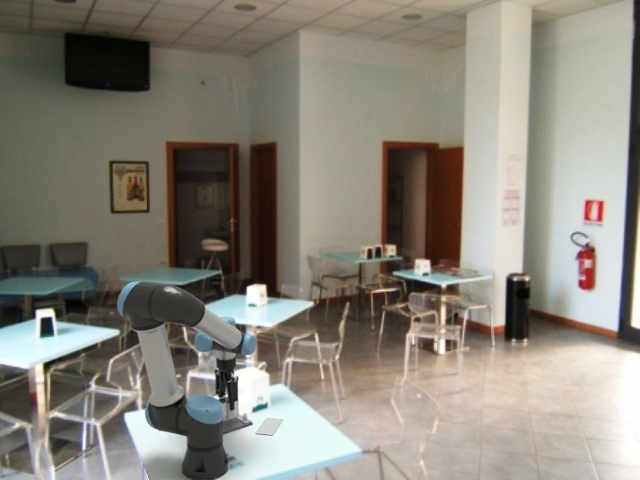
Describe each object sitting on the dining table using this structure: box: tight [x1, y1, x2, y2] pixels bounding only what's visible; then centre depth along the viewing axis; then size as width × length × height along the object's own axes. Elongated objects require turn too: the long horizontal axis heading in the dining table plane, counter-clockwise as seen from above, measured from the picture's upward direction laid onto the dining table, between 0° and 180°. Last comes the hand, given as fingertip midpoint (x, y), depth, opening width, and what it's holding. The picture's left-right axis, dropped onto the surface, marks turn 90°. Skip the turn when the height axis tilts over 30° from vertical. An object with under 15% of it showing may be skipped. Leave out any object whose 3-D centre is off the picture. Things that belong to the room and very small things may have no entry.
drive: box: [217, 396, 240, 421], centre depth 226 cm, size 7×5×7 cm
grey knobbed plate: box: [223, 412, 254, 435], centre depth 227 cm, size 16×12×4 cm
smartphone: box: [255, 417, 284, 437], centre depth 226 cm, size 7×1×15 cm
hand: (226, 415), depth 226 cm, fingers closed on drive, 5 cm apart
